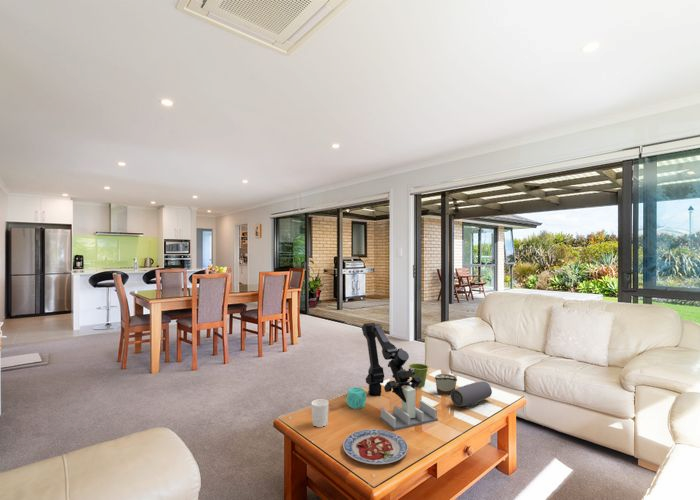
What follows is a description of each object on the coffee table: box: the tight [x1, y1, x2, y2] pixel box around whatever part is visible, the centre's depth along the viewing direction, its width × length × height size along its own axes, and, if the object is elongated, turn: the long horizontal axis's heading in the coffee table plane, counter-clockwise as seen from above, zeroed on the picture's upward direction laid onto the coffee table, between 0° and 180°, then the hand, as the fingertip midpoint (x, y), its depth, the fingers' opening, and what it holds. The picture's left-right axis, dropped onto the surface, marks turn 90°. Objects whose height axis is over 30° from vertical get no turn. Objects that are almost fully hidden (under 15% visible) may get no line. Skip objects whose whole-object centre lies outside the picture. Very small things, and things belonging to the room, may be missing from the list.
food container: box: [434, 373, 458, 397], centre depth 201 cm, size 12×6×10 cm, turn 84°
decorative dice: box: [346, 387, 367, 410], centre depth 184 cm, size 8×8×8 cm
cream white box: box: [401, 385, 417, 418], centre depth 169 cm, size 4×5×13 cm
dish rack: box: [379, 399, 439, 432], centre depth 169 cm, size 13×24×5 cm, turn 114°
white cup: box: [311, 398, 330, 428], centre depth 164 cm, size 8×8×10 cm
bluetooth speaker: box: [450, 381, 493, 407], centre depth 187 cm, size 23×9×10 cm, turn 122°
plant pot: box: [408, 363, 429, 388], centre depth 214 cm, size 12×12×11 cm
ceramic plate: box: [342, 428, 409, 465], centre depth 142 cm, size 26×26×3 cm
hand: (410, 401), depth 168 cm, fingers closed on cream white box, 4 cm apart
